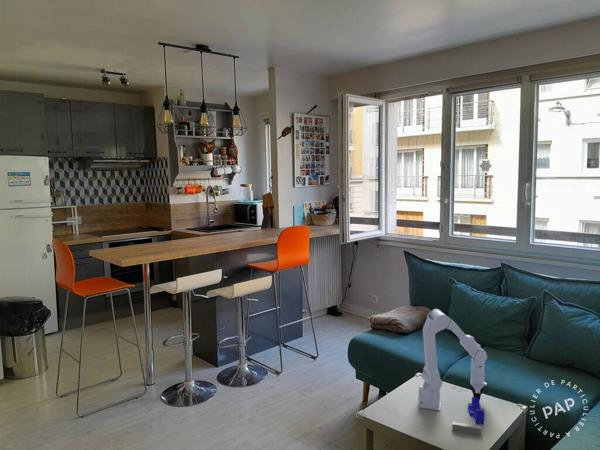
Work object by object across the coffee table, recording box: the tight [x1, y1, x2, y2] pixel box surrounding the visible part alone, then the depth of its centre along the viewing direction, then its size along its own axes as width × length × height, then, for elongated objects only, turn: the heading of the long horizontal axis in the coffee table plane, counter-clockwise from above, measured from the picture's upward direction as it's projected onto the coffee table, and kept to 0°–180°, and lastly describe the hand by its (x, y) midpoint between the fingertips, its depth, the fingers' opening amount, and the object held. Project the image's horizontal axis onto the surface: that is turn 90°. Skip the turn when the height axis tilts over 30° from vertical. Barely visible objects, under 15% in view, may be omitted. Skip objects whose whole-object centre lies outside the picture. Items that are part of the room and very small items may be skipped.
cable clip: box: [467, 396, 485, 425], centre depth 198 cm, size 12×4×6 cm, turn 169°
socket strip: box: [451, 421, 482, 437], centre depth 187 cm, size 11×2×3 cm, turn 70°
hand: (476, 401), depth 210 cm, fingers closed
